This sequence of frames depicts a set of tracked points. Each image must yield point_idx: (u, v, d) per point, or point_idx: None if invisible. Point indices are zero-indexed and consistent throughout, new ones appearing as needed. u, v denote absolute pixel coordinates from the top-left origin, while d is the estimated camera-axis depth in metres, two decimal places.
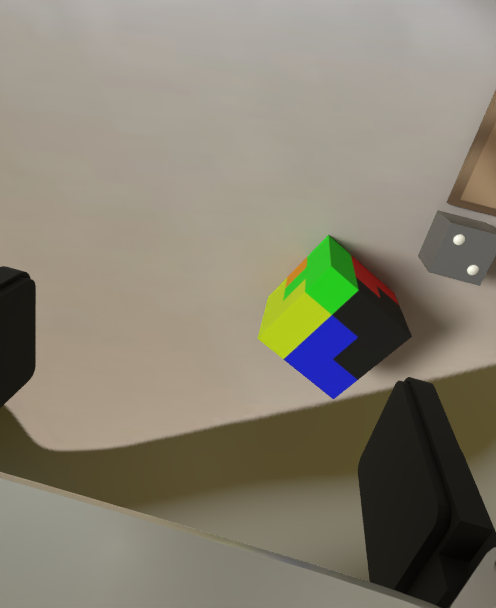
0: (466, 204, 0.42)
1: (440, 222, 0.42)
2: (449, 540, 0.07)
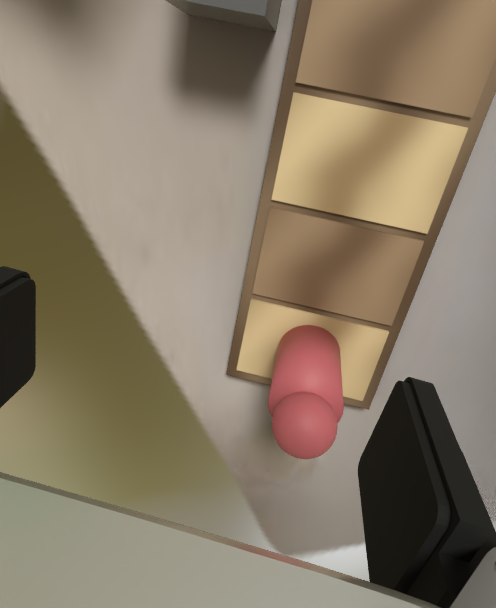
0: None
1: None
2: (449, 540, 0.07)
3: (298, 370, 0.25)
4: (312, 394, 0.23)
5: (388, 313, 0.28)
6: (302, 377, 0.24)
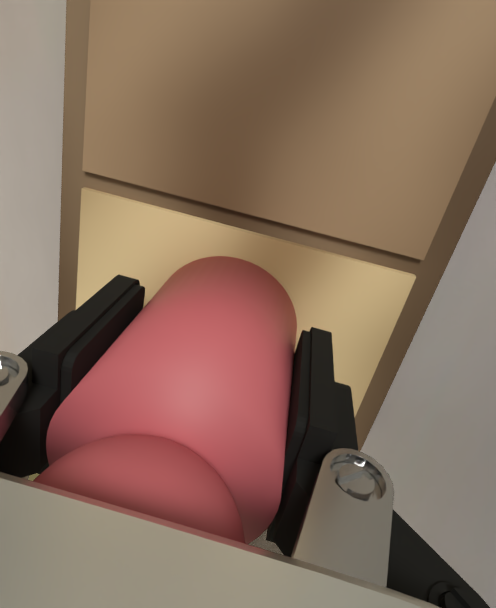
0: None
1: None
2: (304, 445, 0.08)
3: (134, 359, 0.07)
4: (153, 451, 0.06)
5: (418, 225, 0.11)
6: (138, 384, 0.07)
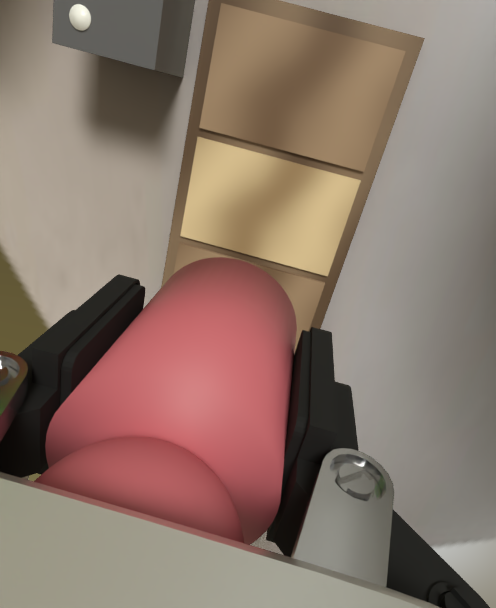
0: (212, 19, 0.22)
1: None
2: (304, 445, 0.08)
3: (134, 361, 0.07)
4: (152, 454, 0.06)
5: None
6: (138, 386, 0.07)
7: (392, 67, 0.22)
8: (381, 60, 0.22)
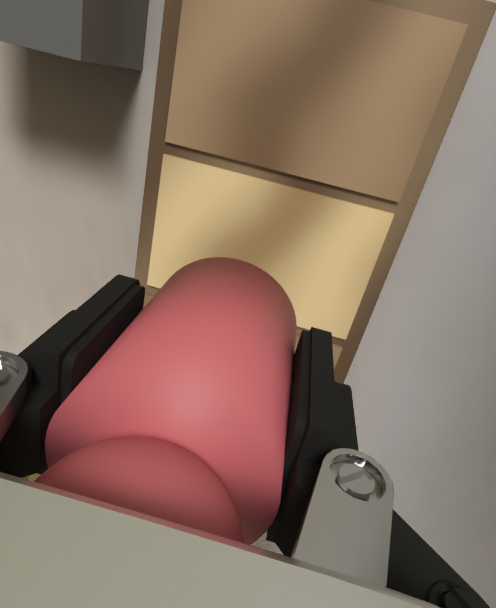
0: None
1: None
2: (304, 445, 0.08)
3: (134, 361, 0.07)
4: (152, 454, 0.06)
5: None
6: (137, 387, 0.07)
7: (446, 49, 0.14)
8: (430, 40, 0.14)
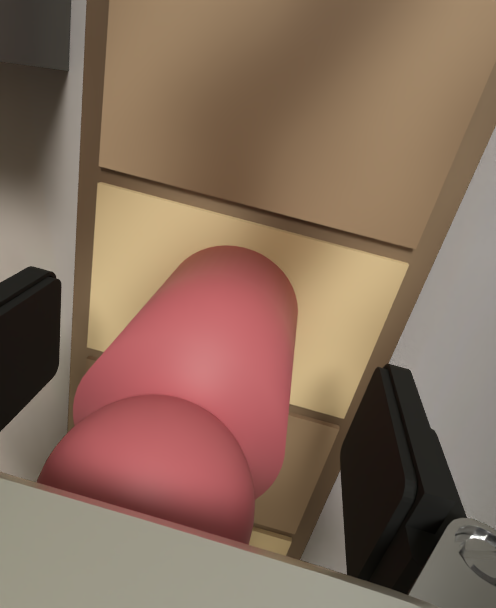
0: None
1: None
2: (415, 512, 0.07)
3: (153, 330, 0.08)
4: (174, 405, 0.07)
5: (288, 518, 0.18)
6: (158, 351, 0.08)
7: (487, 40, 0.10)
8: (463, 27, 0.10)
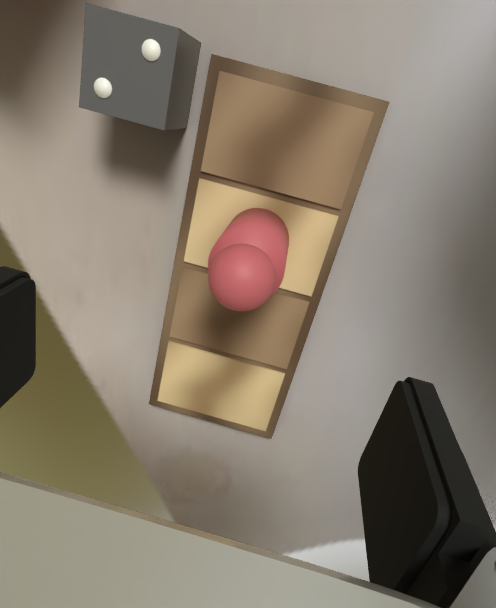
0: (212, 83, 0.26)
1: None
2: (449, 540, 0.07)
3: (239, 227, 0.24)
4: (251, 245, 0.23)
5: (283, 359, 0.33)
6: (243, 232, 0.23)
7: (363, 124, 0.26)
8: (354, 119, 0.26)
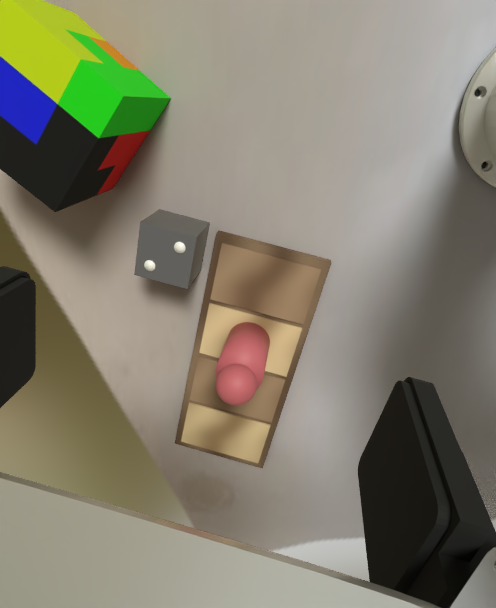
0: (217, 249, 0.41)
1: (197, 226, 0.39)
2: (449, 540, 0.07)
3: (235, 350, 0.38)
4: (241, 365, 0.37)
5: (268, 415, 0.48)
6: (237, 354, 0.38)
7: (314, 276, 0.40)
8: (309, 272, 0.40)
